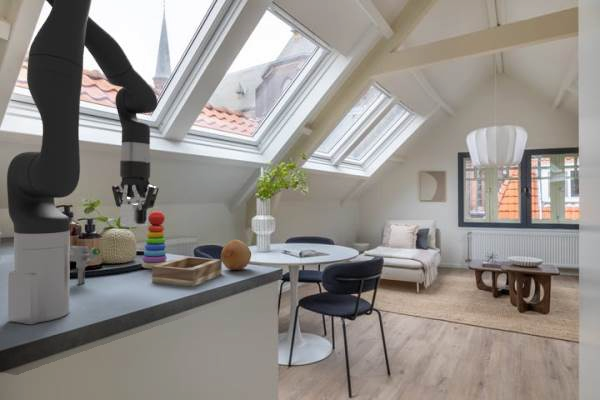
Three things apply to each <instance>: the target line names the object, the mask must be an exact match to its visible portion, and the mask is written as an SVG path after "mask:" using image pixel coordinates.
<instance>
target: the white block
mask: <svg viewBox="0 0 600 400" xmlns="http://www.w3.org/2000/svg"><path fill="white" fill-rule="evenodd" d="M138 210H139V209H138V204H137V203H132V204H121V207H120V212H119V213H120V219H119V222H120V223H119V224H120V227H123V228H138V227H139V228H140V227H147V226H148V227H149V220H148V217H149V209H147V216H146V222H145V223H144V224H138Z"/></svg>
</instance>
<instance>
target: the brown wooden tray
mask: <svg viewBox="0 0 600 400" xmlns="http://www.w3.org/2000/svg"><path fill="white" fill-rule="evenodd" d="M222 264H223V262H222V260H221V258H220V259H218V258H206V257H194V256H193V257H192V256H183V257H180V258H176V259H173V260H169V261H167V262H165V263H162V264H158V265H155V266H152V271H151V274H152V275H151V283H156V284H164V285H165V284H166V285H173V286H175V285H176V286H185V287H195V286H197V285H200V284H202V283H205V282H207V281H209V280H211V279H213V278H216V277H218V276H220V275H222V270H223V269H222V268H223V267H222V266H223V265H222Z"/></svg>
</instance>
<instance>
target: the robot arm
mask: <svg viewBox="0 0 600 400" xmlns="http://www.w3.org/2000/svg"><path fill="white" fill-rule="evenodd" d="M45 1H46V2H47V3H48V4H49V5H50V7H51V10H50V12H49V14H48V16H47V18H46V19H45V21H44V23H43V24H42V26H41V27H40V29H39V30H38V31H37V33H36V35H35V36H34V39H33V40H32V42H31V45H30V47H29V51H28V58H27V72H26V83H27V87H28V91H29V94H30V95H31V98H32V100H33V102H34V104H35V106H36V108H37V111H38V113H39V115H40V118H41V119H40V120H41V124H42V136H41V137H42V139H41V148H40V151H25V152H21V153H19V154H17V155H16V156H14V157H13V158H12V160H11V161H10V163H9V165H8V168H7V172H6V173H7V174H6V191H7V192H6V193H7V204H8V205H7V210H8V214H9V218H10V220H11V222H12V224H13V232H14V233H13V270H12V271H9V272H8V274H7V275H8V280H7V281H8V284H7V285H8V287H7V288H8V289H7V290H8V291H7V294H8V297H7V298H8V300H7V303H8V304H7V306H8V307H7V314H8V315H7V316H8V317H7V321H8V322H14V323H19V324H25V325H35V324H37V323H42V322H49V321H53V320H57V319H60V318H62V317H64V316H66V315H68V314H69V313H70V274H71V273H70V270H71V269H70V267H71V264H70V263H71V261H70V246H71V245H70V244H71V220H70V217H69V216H68V215H66V214H64V213H63V212H62V211H60V210H59V209H58V208H57V206H56V203H55V199H56V198H57V199H61V198H65V197H66V198H67V197H68V196H70V195H71V194H73V192H74V191H75V190H76V189H77V186H78V184H79V181H80V175H81V174H80V173H81V159H80V157H81V156H80V154H81V153H80V134H79V131H80V129H79V128H80V109H81V108H80V107H81V106H80V105H81V93H82V85H83V73H84V55H85V54H84V52H85V49H87V51H88V52H89V53H90V55H91V57H92V58H93V59H94V60H95V63H96V64H97V65H98V67H99V68H100V70H101V72H102V73H103V75H104V76H105V78H106V79H107V81H108V82H109V83H110V84H111V85H113V86H116V87H120V88H119V90H118V91H117V93H116V95H115V100H114V101H115V107H116V111H117V114H118V118H119V123H120V126H121V147H120V154H119V155H120V161H119V164H120V166H119V176H120V177H121V182H120V184H118V185H112V186H111V189H112V191H111V192H112V195H113V198H114V203H115V206H116V207H117V208H118V207H119V208H121V204H134V202H136V204H138V209H139V210H138V224H144V223H145V222H146V216H147V209H148V210H149V209H151V208H154V206H155V202H156V200H157V196H158V193H159V187H158V186H153V185H151V183H150V181H149V179H150V178H151V159H152V158H151V157H152V156H151V155H152V154H151V146H150V145H151V127H150V126H149V124H147V123H146V122H143V121H139V120H138V117H137V114H149V113H150V114H151V113H153V112H155V110H157V107H158V98H157V97H158V96H157V95H156V92H155V90H154V88H152V86H151V85H150V84H149V83H148V82H147V81H146V80H145V79H144V77H143V76H142V75H141V74H139V72H138V71H137V70H135V69H134V67H133V65H132V63H131V61H130V59H129V58H128V56H127V54H126V53H125V51H124V49H123V47H122V46H121V45H120V44H119V42H118V41H117V40H116V39H115V38H114V37H113V36H112V35H111V34H110V33H108V31H106V30H105V29H104V28H103V27H101V26H100V25H99V24H98V23H97V22H96V21H95V20H94V19H93V18H92V17H90V16H89V14H90V9H91V5H92V1H93V0H45Z"/></svg>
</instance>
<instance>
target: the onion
mask: <svg viewBox="0 0 600 400" xmlns="http://www.w3.org/2000/svg"><path fill="white" fill-rule="evenodd" d="M251 258H252V252H251V249H250V247H249V246H248V245H247V244H246V243H245V242H243V241H242V240H239V239H232V240H230V241H229V242H227V243H226V244H225V245H224V247H223V248H222V249H221V254H220V260H222V264H223V265H224V266H225V268H226V269H228V270H237V271H240V270H243V269H244V268H246V267H247V266H248V265H249V263H250V262H251Z"/></svg>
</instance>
